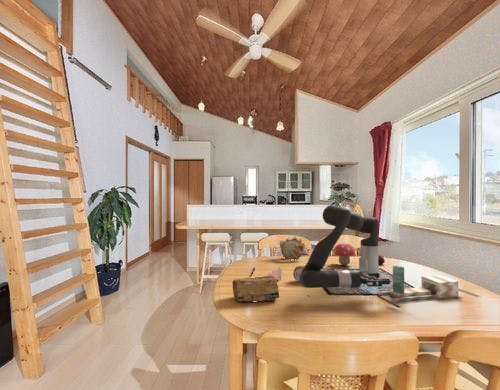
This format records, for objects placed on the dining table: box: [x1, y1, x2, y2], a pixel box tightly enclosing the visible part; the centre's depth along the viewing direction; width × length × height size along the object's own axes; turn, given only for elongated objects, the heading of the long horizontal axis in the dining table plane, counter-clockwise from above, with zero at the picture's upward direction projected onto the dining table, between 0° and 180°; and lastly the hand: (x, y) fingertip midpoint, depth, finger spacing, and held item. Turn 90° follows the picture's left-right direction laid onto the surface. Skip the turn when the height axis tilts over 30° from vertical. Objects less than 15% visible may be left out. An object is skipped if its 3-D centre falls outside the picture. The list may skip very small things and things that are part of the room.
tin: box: [293, 265, 322, 283], centre depth 139 cm, size 15×3×8 cm, turn 71°
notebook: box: [267, 266, 282, 281], centre depth 155 cm, size 27×17×2 cm, turn 172°
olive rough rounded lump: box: [279, 236, 307, 261], centre depth 191 cm, size 18×18×15 cm
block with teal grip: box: [389, 265, 431, 298], centre depth 116 cm, size 16×5×13 cm, turn 100°
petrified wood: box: [231, 276, 280, 302], centre depth 118 cm, size 19×13×10 cm
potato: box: [378, 254, 385, 266], centre depth 178 cm, size 7×8×6 cm
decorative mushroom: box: [333, 242, 356, 267], centre depth 174 cm, size 13×13×15 cm
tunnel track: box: [376, 274, 482, 309], centre depth 117 cm, size 42×13×8 cm, turn 101°
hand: (384, 278), depth 114 cm, fingers open, 8 cm apart
